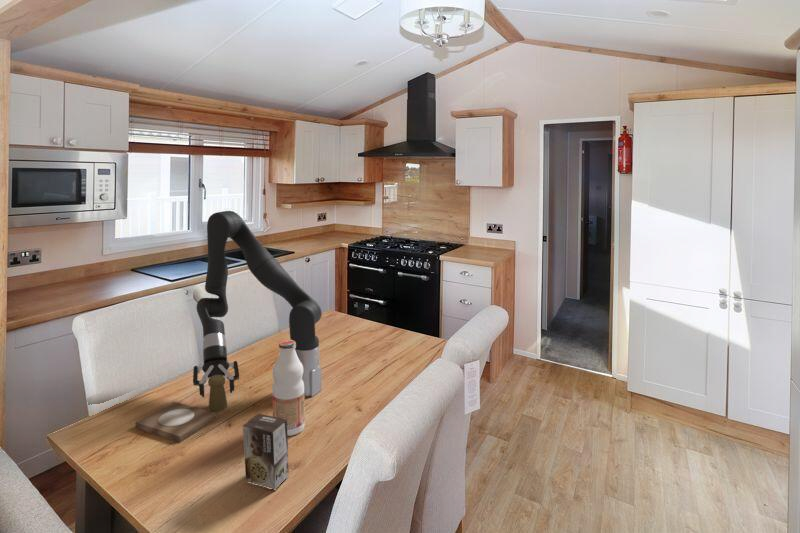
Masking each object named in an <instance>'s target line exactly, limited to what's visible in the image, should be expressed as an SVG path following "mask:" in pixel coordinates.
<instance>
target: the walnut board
mask: <svg viewBox="0 0 800 533" xmlns="http://www.w3.org/2000/svg"><path fill="white" fill-rule="evenodd" d="M216 420H217V412H212V411H209V410H207V409H202V408H198V407H195V406H191V405H188V404H184V403H181V402H178V401H172V402H170V403H169V404H167V405H165V406H163V407H161V408H159V409H157V410H155V411H153V412H151V413H150V414H148V415H146V416H144V417H142V418H140V419H138V420H136V421H135V422H134V424H135V429H137V430H140V431H144V432H147V433H150V434H153V435H156V436H159V437H163V438H166V439H169V440H171V441H175V442H178V443H181V442H183V441H185V440H186V439H188V438H190V437H191V436H192V435H194V434H196V433H198V432H199V431H200V430H202V429H203V428H205V427H206V426H208V425H210V424H211V423H213V422H214V421H216Z"/></svg>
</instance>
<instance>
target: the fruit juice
mask: <svg viewBox="0 0 800 533" xmlns="http://www.w3.org/2000/svg"><path fill="white" fill-rule="evenodd" d="M278 348H279V353H278V357H277V359H276V362H275V363H274V364H273V367H272V370H271V371H272V377H273V383H272V388H271V389H272V390H271V391H272V392H271V393H272V417H277V418H282V419H286V420H287V436H288V437H291V436H294V435H295V436H296V435H298V434H300V433H301V432H302V431H303V430H304V429H305V425H306V424H305V423H306V421H305V420H306V417H305V414H306V413H305V409H306V408H305V406H306V405H305V397H304V382H303V380H302V376H303V371H304V370H303V365H302V363H301V362H300V360H299V358H298V356H297V353H296V351H295V348H296V342H295V341H294V340H291V339H284V340H281V341H280V342H278Z"/></svg>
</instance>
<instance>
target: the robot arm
mask: <svg viewBox="0 0 800 533" xmlns="http://www.w3.org/2000/svg"><path fill="white" fill-rule="evenodd" d="M206 234H207V235H206V236H207V237H206V238H207V269H206V277H205V285H204V289H205V292H206V293H208V294H210V295H214V296H217V297H201V298H199V300H198V301H197V302H196V312H197V315H198V318H199V320H200V322H201V325H202V333H203V334H202V335H203V336H202V337H203V340H202V351H203V352H202V353H203V354H202V357H203V365H202V366H197V365H195V366H193V373H192V374H193V376H192V383H193V384H192V385H193V386H198V388H199V390H198V391H199V396H200V397H201V398H205V384H206V383H207V381H208V380H209V378H210V377H211V376H214V375H222V376H224V378H225V380H226V379H227V380H228V383H229V393H230V394H233V392H234V391H235V381H236V380H237V381H238V380H240V370H239V365H238V361H237V360H234V361H233V362H229V361H228V352H227V351H228V350H227V346H228V345H227V340H226V334H225V324H224V322H223V321H222V320H220V319H216V318H223V317H225V316H226V315H227V314H228V311H229V305H228V299H227V282H228V277H229V268H228V264H227V260H226V250H225V249H226V245H227V242H228V239H229V238H230V239H231V240H232V241H233V242H234V243H235V244H236V245H237V247H238V248H239V249H240V250H241V252H242V254H243V255H244V259H245V262H246V265H247V268H248V270H249V271H250V273H251V274H252V275H253V276H254V277H255V278H256V279H257V281H258V282H259V283H260V284H261V285H263V286H264V287H265V288H267V289H268V290H270V291H271V292H273V293H275V294H276V295H278V296H280V297H282V298H283V299H284V300H285V301H286V302H287V303H288V304H289V305H290V306H291V307H292V308H291V310H290V312H289V314H288V315H289V317H288V324H289V325H288V326H289V327H288V328H289V338H290V339H289V340H294V341H295V342H296V348H295V351H296V353H297V356H298V358H299V360H300V362H301V363H302V365H303V370H304V371H303V376H302V380H303V382H304V398H306V397H315V396H316V395H317V394H318V393H319V392H321V391H322V387H323V386H322V365H321V364H320V339H319V337H318V336H317V335H316V324H317V323H318V322H319V321H320V320H321V318H322V315H323V314H322V313H323V312H322V309H321V306H320V304H319V303H318V302H317V301H316V300H315V299H313V297H312V296H310V295H309V294H308V293H307V291H305V290H304V289H302V287H301V286H299V285H298V283H297V282H296V281H295V280H294V279H293V278H292V276H291V275H290V274H289V273H288V271H286V270H285V269H284V268H283V265H281V264H280V262H279V261H278V260H277V259H276V258H275V257H274V256H273V255H272V254H271V253H270V252H269V251H268V249H267V248H266V247H265V246H264V245H263V243H261V242H260V240H259V239H258V238H257V237H256V235H255V234H254V233H253V232H252V231H251V229H250V227H249V226H248V224H247V223H246V222H245V220H244V219H243V218H242V217H241V216H240V215H239V214H238V212H235V211H231V210H224V211H218V212H215V213H213V214H211V215H210V216H209V217H208V220H207V224H206ZM229 368H230V369H231V370H233V371H234V375H232V374H231V373H230V372H229ZM201 371H202V372H203V373H204V374H203V375H202V378H200V380H199V377H198V376H199V374H201Z"/></svg>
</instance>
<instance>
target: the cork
mask: <svg viewBox="0 0 800 533" xmlns="http://www.w3.org/2000/svg"><path fill="white" fill-rule="evenodd" d="M207 381H208V382H207V383H208V386H209V387H210V389H209V397H208V398H209V399H208V411H210V412H213V413H217V412H222V411H225V410H226V409H227V408H229V407H228V406H229V404H228V399H227V395H226V390H225V384H226V378H225V377H224V376H222V375H214V376H211V377H210V378H209V379H208V380H207Z"/></svg>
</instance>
